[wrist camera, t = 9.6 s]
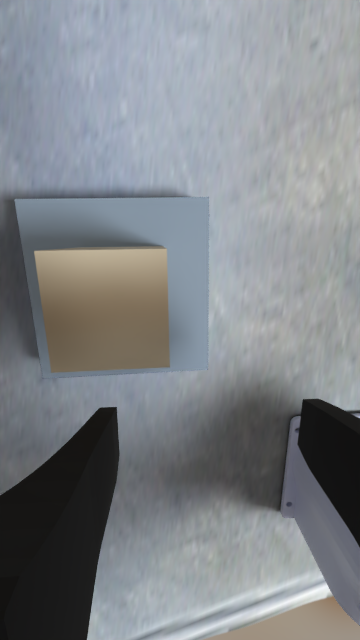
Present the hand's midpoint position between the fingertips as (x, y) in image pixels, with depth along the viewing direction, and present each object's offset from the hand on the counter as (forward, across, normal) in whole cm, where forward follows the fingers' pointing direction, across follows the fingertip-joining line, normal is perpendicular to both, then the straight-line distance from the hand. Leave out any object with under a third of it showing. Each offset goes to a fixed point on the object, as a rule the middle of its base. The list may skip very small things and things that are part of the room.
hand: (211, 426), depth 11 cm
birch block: (+7, +4, -4) cm, 9 cm away
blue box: (+10, +4, -4) cm, 11 cm away
